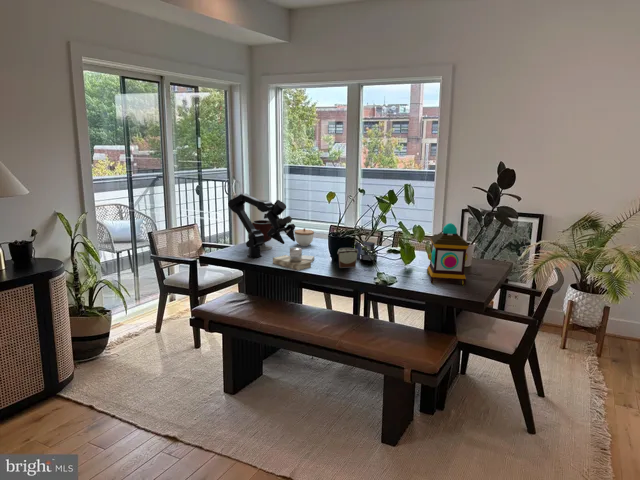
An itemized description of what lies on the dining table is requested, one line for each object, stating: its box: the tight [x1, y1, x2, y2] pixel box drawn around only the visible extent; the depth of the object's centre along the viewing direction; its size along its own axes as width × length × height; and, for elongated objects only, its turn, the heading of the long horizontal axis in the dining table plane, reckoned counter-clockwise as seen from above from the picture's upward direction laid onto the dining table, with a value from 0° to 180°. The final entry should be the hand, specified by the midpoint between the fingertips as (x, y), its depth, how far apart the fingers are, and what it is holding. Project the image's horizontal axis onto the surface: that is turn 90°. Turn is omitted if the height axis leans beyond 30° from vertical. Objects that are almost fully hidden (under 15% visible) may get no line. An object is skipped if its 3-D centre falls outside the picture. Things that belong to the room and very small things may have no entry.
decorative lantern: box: [426, 222, 469, 286], centre depth 246 cm, size 20×20×30 cm
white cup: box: [289, 246, 303, 263], centre depth 264 cm, size 7×7×10 cm
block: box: [302, 254, 315, 264], centre depth 278 cm, size 8×8×2 cm
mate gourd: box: [251, 219, 273, 251], centre depth 303 cm, size 16×14×20 cm
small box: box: [354, 240, 376, 261], centre depth 284 cm, size 11×6×10 cm, turn 62°
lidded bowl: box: [294, 228, 315, 247], centre depth 317 cm, size 13×13×11 cm
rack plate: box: [272, 254, 312, 271], centre depth 268 cm, size 20×10×3 cm, turn 49°
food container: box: [336, 247, 359, 269], centre depth 268 cm, size 12×6×10 cm, turn 108°
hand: (289, 242), depth 265 cm, fingers open, 9 cm apart
